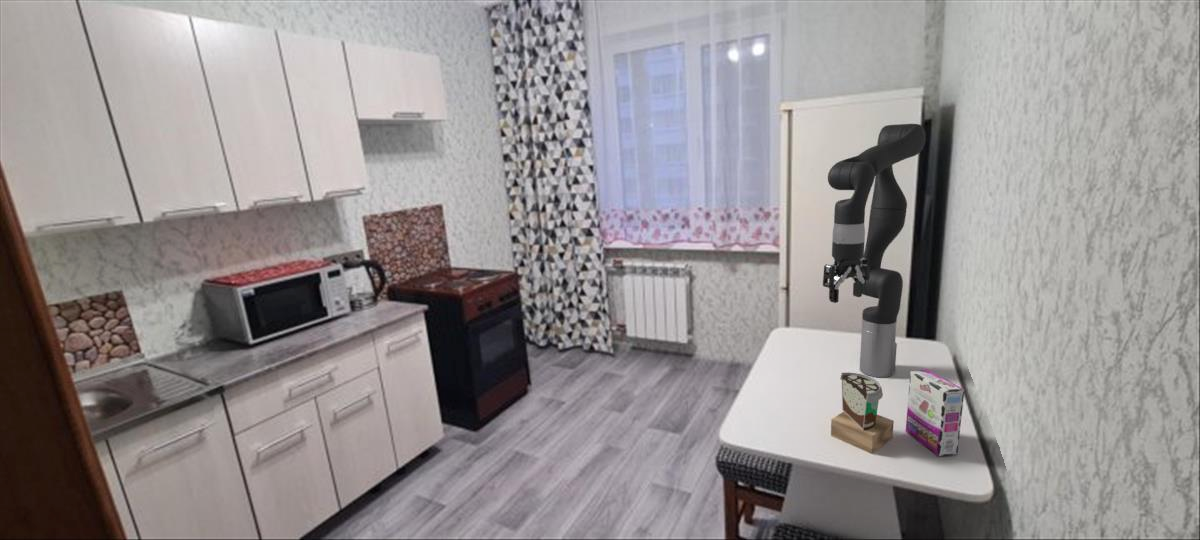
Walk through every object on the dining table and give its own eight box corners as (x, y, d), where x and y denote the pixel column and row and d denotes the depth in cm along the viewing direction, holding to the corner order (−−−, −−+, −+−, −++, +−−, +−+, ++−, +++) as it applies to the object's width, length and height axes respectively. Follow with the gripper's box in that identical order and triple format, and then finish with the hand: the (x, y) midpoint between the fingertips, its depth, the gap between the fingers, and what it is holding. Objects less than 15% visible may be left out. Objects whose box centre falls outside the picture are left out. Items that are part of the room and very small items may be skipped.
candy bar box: (959, 455, 111) (966, 389, 107) (938, 457, 110) (945, 391, 107) (923, 429, 122) (928, 368, 118) (904, 431, 121) (909, 370, 117)
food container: (892, 431, 113) (894, 392, 111) (866, 433, 113) (868, 394, 111) (862, 405, 125) (864, 369, 123) (839, 407, 125) (840, 371, 123)
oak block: (852, 423, 127) (852, 405, 126) (892, 439, 119) (893, 420, 118) (830, 437, 122) (831, 419, 120) (871, 455, 113) (872, 436, 112)
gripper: (855, 234, 133) (852, 291, 137) (816, 241, 128) (814, 300, 131) (880, 238, 126) (877, 298, 130) (840, 245, 121) (837, 307, 125)
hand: (845, 299), depth 131 cm, fingers open, 8 cm apart
